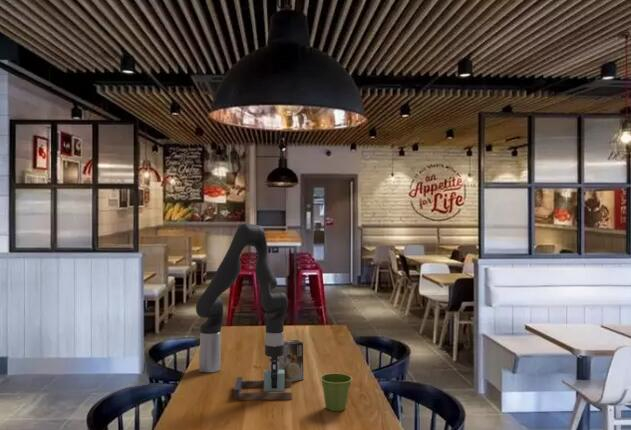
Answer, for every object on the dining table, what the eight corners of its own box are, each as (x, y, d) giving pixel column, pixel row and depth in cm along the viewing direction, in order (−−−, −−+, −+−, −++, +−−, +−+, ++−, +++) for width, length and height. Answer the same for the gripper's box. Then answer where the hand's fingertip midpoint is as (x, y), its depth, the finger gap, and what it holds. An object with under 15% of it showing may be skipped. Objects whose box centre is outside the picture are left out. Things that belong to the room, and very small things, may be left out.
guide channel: (234, 400, 217) (234, 389, 217) (237, 386, 233) (237, 376, 233) (291, 399, 218) (291, 388, 218) (291, 385, 235) (291, 376, 235)
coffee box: (297, 376, 248) (297, 339, 248) (303, 380, 243) (303, 342, 242) (277, 378, 244) (278, 341, 244) (284, 383, 238) (284, 344, 238)
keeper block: (264, 391, 223) (264, 373, 223) (264, 387, 228) (264, 370, 228) (284, 391, 224) (284, 373, 224) (284, 387, 229) (284, 369, 229)
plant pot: (328, 416, 201) (328, 384, 200) (314, 405, 211) (314, 375, 211) (358, 411, 205) (358, 380, 205) (343, 401, 216) (343, 371, 216)
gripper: (265, 338, 233) (265, 380, 233) (264, 347, 219) (264, 391, 219) (283, 338, 233) (283, 380, 234) (284, 347, 219) (283, 391, 219)
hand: (274, 385), depth 226 cm, fingers closed on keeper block, 5 cm apart
